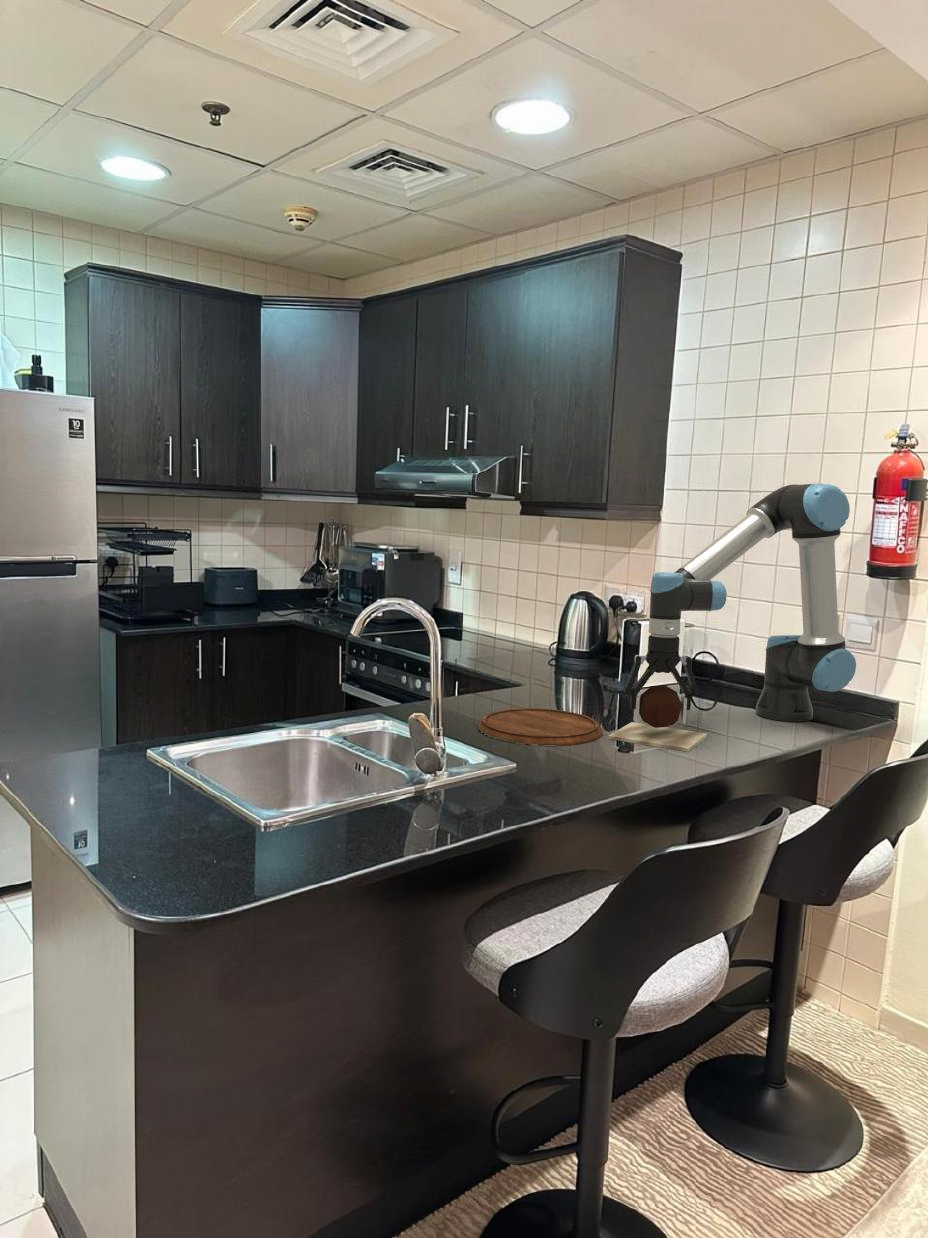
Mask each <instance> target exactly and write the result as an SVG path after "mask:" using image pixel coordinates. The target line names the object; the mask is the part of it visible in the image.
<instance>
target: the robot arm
mask: <svg viewBox="0 0 928 1238" xmlns="http://www.w3.org/2000/svg"><path fill="white" fill-rule="evenodd" d="M850 510H851V509H850V503H849V499H848V497H847V495H846V494H845V492H844V491H842V490H841V489H840V488H839V487H838V486H837V485H833V484H829V483H821V482H820V483H805V484H797V483H796V484H788V485H784V486H782V487H780V488H777V489H775V490H773V491H772V492H770V493H768V494H767V495H765V496H764V497H763V498H761V499H760V500H759V501H758V502H756V503H755V504H753V505H752V506H751V507H750V508H748V509H747V510H746V516H744V517H743V518H742V519H741V520H739V521H738V522H736V523H735V525H733V526H731V527H730V528H729V529H728V530H726V531H725V532H724V533H722V534H721V535H720V536H719V537H718V538H716V539H715V540H714V541H712V542H711V544H708V545H707V546H706V547H705V548H704V549H702V550H701V551H700V552H699V553H697V554H696V555H695V556H693V557H692V558H691V559H690V560H688V561H687V562H686V563H684V564H683V565H682V566H681V567H680V568H678V569H677V570H676V571H674V572H671V571H670V572H668V571H667V572H665V571H663V572H655V573H653V575H651V576H652V577H651V582H650V589H649V592H650V597H649V599H650V600H649V601H650V602H649V618H648V619H649V622H648V633H649V636H648V637H647V640H648V641H647V652H646V654H645V655H639V654H635V655H634V657H633V664H632V667H631V670H630V672H629V674H628V678H627V680H626V681H625V685H624V686H623V692H624V693H625V694H626V695H629V696H630V700H629V701H630V702H629V706H630V709H632V710H633V722H634V723H640V721H639V719H640V714H639V705H640V695H639V693H640V692H641V690H642V689H643V688H644V686H645V685H646V683H647V682H648V681H649V679H650V678H651V677H652V676H653V675H654V674H655V673H656V674H662V673H666V674H670V673H671V675H672V676H673V678H674V679H675V681H676V682H677V685H678V686H679V688H680V689H681V691H682V692H683V694H684V695H681V699H680V701H681V704H682V708H681V712H680V715H679V722H680V723H681V724H682V725H687V711H691V707H692V699H693V697H695V696H700V691H699V688H698V685H697V681H696V677H695V674H694V671H693V668H692V657H690V656H689V655H686V656H680V637H679V636H678V635H680V634H681V618H682V617H681V616H682V612H687V611H688V612H689V611H690V612H698V611H699V612H712V611H719V610H721V609H723V608H724V606H725V604H726V602H727V594H728V593H727V589H726V586H725V585H724V583H723V582H721V581H719V580H712V579H714V578H715V577H716V576H717V575H719V574H720V573H721V572H722V571H724V570H725V569H726V568H727V567H729V566H730V565H731V564H733V563H734V562H735V561H737V559H739V558H741V556H743V555H744V554H745V553H747V552H748V551H750V550H751V549H752V548H753V547H754V546H756V545H757V544H758V543H759V542H761V541H762V540H763V539H764V538H767V539H769V538H772V537H774V536H775V535H776V534H777V533H779V532H782V531H785V530H789V529H791V538H792V540H793V541H795V542H796V543H797V544H798V550H799V551H798V555H799V570H800V571H799V572H800V589H801V591H800V593H801V609H802V610H801V611H802V628H803V629H802V631H803V634H799V635H798V634H791V635H789V634H786V635H785V634H783V635H781V634H779V635H778V634H777V635H771V636H769V638H767V642H766V643H767V644H766V647H765V662H764V683H763V689H762V691H761V693H760V695H759V697H758V700H757V702H756V705H755V714H756V715H757V716H759V717H762V718H765V719H769V720H774V721H781V722H796V723H799V722H801V723H802V722H808V721H811V720H813V715H814V709H813V705H812V702H811V701H812V700H811V698H810V694H809V687H810V688H812V689H816V690H817V691H818V690H819V691H826V692H833V693H834V692H839V691H840V690H843V689H844V688H845V687H847V686H848V685H849V683H850V682H851V681H852V680H853V678H854V677H855V674H856V669H857V662H856V661H857V659H856V658H855V655H854V654H852V652H851V651H850V650H848V649H846V647H847V646H846V638H845V636H844V635H842V634H841V633H840V631H839V617H838V615H839V614H838V613H839V612H838V591H837V573H836V572H837V570H836V569H837V568H836V549H835V547H836V546H835V542H836V540H838V538H839V537H840V536H841V528H843V527H844V526H845V524H846V523H847V522H846V521H847V520H848V519H849V517H850V512H851V511H850ZM644 662H646V663H647V664H648V666H647V667H646V669H645V671H644V672H643V674H642V675H641V677H639V680H637V682H636V683H635V681H636V678H637V676H638V674H639V671H640V669H641V666H642V665H643V664H644ZM679 663H681V664H682V666H683V667H684V671H685V673H686V677H687V680H688V684H689V688H690V690H689V688H688V686H687V684H686V683H685V681H684V680H683V678H682V676H681V675H680V673H679V671H678V669H677V668H676V667H677V666H678V664H679ZM634 683H635V684H634Z"/></svg>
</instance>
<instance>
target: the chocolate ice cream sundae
mask: <svg viewBox="0 0 928 1238" xmlns="http://www.w3.org/2000/svg"><path fill="white" fill-rule="evenodd" d="M639 697H640V705H639V717H640V719H641V721H642V722H644V724H647V725H650V726H652V727H654V728H660V727H667V728H670V726H674V725H675V724H676V723H677V722H679V720H680V713H681V708H682V704H681V699H680V696H679V695H678V692H677V690H674V689H673V688H671V687H669V686H667V685H666V684H660V685H659V684H658V685H651V686H650V687H648V688H647V689H646V690H645V691H644V692H642V693H641V694H640V695H639Z"/></svg>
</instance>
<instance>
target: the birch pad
mask: <svg viewBox="0 0 928 1238" xmlns="http://www.w3.org/2000/svg"><path fill="white" fill-rule="evenodd" d="M706 738H708V733H706V732H700V731H692V730H687V729H686V730H685V729H680V728H673V727H660V728H654V727H652V726H650V725H649V724H647V723H641V722H639V723H635V722H634V721H631V722H629V723H628V724H626V725H624V726H623V727H620V729H617V730H616V731H614V732H612V733H611V734H608V736H607V739H608V740H612V741H613V740H614V741H619V742H626V743H632V744H639V745H645V746H650V747H656V748H657V747H658V748H663V749H669V750H676V751H682V752H690V751H691V750H692V749H694V748H695V747H697V745H699V744H700V743H702V741H704V740H706Z"/></svg>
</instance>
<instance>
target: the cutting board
mask: <svg viewBox="0 0 928 1238" xmlns="http://www.w3.org/2000/svg"><path fill="white" fill-rule="evenodd" d="M478 727H479V729H481V730H482V731H483V732H484V733H486V734H489V735H491V736H493V737H500V738H503V739H506V740H509V741H514V742H519V743H529V744H538V745H557V746H556V747H570V746H579V745H585V744H589V743H592V742H595V741H597V740H599V739H601V738H602V737H603V734H604V731H603V729H602V727H601V725H600V724H599V722H598V721H597V720H596V719H595V718H592V717H590V716H588V715H585V714H582V713H578V712H573V711H568V710H562V709H561V710H560V709H553V708H541V707H540V708H537V707H536V708H535V707H533V708H532V707H530V708H529V707H528V708H527V707H523V708H522V707H520V708H518V707H517V708H508V709H501V710H495V711H491V712H489V713H487V714H485V715H484V716H483V717H482V718H481V719H480V721H479V722H478V723H477V728H478ZM558 745H559V746H558ZM560 745H561V746H560Z"/></svg>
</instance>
